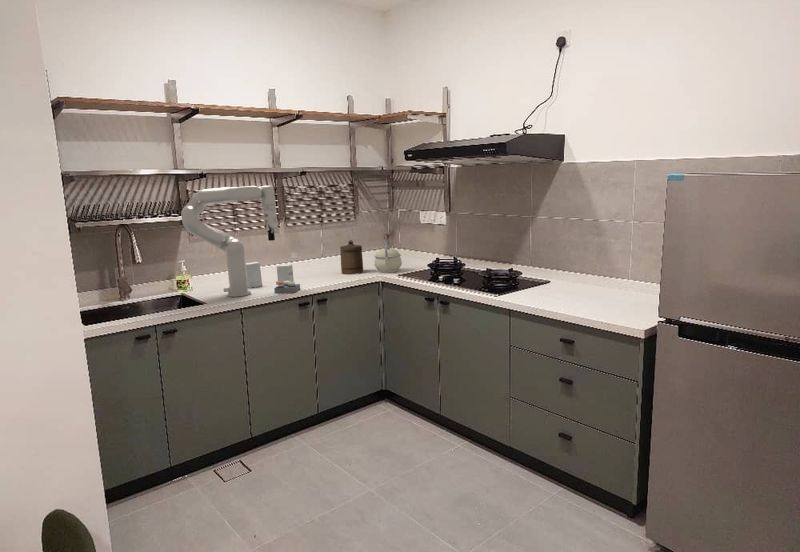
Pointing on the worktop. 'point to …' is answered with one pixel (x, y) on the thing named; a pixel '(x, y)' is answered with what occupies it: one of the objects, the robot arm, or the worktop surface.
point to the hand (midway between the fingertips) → (271, 240)
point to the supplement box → (285, 273)
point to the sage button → (291, 283)
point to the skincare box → (253, 274)
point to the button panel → (287, 288)
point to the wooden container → (351, 258)
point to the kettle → (387, 259)
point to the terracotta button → (279, 282)
